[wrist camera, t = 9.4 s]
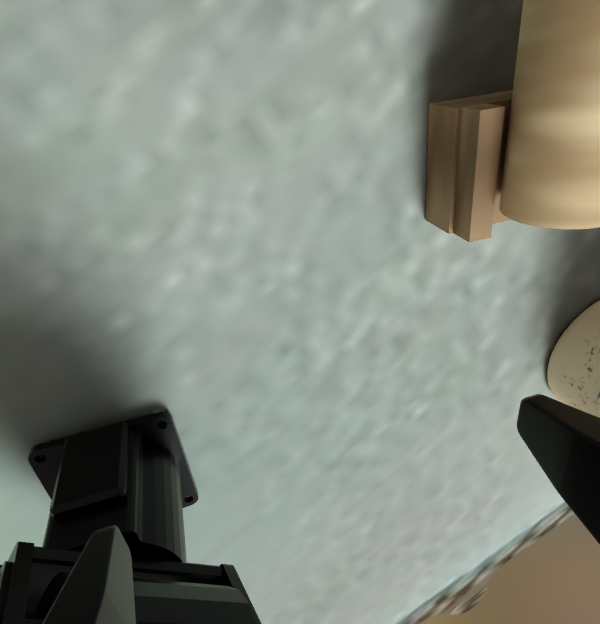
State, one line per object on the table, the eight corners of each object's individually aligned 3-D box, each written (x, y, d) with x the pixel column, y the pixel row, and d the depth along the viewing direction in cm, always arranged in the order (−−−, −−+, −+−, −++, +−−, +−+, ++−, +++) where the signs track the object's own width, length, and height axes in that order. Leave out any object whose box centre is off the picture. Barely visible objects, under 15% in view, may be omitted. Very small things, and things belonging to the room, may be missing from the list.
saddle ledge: (577, 186, 23) (633, 204, 20) (425, 219, 21) (464, 243, 19) (599, 75, 20) (667, 78, 18) (428, 103, 19) (475, 111, 16)
